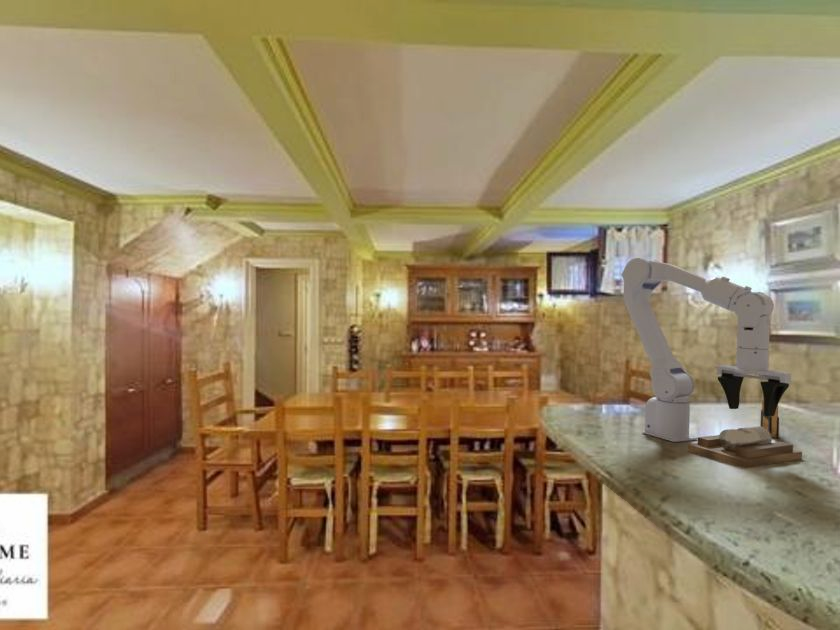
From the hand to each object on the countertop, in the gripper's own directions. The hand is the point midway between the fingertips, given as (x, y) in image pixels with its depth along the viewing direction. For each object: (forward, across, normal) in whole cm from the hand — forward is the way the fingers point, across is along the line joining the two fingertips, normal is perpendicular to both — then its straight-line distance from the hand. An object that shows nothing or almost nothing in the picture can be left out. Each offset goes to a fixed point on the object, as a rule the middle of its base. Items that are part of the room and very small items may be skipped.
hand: (750, 412), depth 105 cm
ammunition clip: (+9, -11, +23) cm, 27 cm away
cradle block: (+9, 0, -2) cm, 9 cm away
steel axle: (+5, +1, -3) cm, 6 cm away
